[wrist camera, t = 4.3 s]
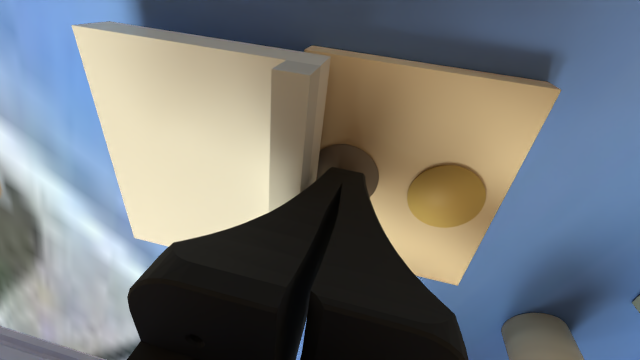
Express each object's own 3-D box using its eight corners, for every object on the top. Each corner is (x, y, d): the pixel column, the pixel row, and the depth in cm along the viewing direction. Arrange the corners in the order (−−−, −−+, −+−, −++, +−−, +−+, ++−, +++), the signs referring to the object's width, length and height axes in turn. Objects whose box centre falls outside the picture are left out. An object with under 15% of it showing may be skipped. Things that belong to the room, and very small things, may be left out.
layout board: (454, 269, 15) (458, 288, 14) (295, 231, 16) (289, 247, 15) (548, 81, 10) (563, 91, 9) (311, 45, 11) (303, 50, 10)
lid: (307, 255, 15) (290, 303, 12) (155, 218, 16) (114, 255, 13) (330, 56, 10) (310, 75, 8) (109, 21, 11) (33, 29, 9)
